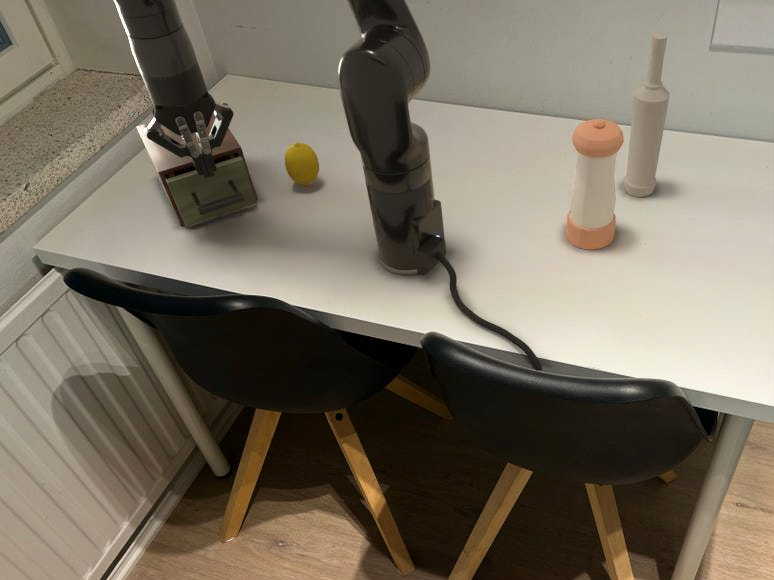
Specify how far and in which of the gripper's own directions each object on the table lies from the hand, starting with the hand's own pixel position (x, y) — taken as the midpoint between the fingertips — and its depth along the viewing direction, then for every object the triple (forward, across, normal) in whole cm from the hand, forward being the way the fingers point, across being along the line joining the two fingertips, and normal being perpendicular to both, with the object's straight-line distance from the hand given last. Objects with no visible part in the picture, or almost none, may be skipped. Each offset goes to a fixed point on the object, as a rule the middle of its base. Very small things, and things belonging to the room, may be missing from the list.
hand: (208, 174), depth 109 cm
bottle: (+10, +62, -27) cm, 68 cm away
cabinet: (+10, 0, +13) cm, 17 cm away
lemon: (+10, +15, +5) cm, 19 cm away
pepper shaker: (+10, +48, -33) cm, 59 cm away
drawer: (+9, 0, +8) cm, 12 cm away
